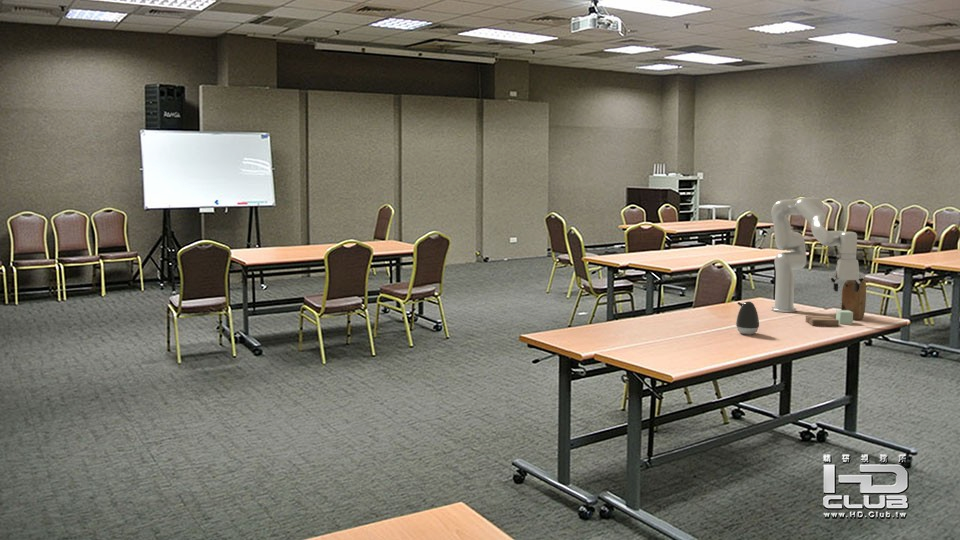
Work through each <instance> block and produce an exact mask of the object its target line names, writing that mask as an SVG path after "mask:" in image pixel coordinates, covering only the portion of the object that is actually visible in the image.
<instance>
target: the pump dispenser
mask: <svg viewBox="0 0 960 540" xmlns="http://www.w3.org/2000/svg"><path fill="white" fill-rule="evenodd" d="M737 305H739V306H740V308H739V310H738V313H737V317H736V322H735V326H736V328H737V331H738V332H739V333H740V334H742V335H747V336H748V335H749V336H750V335H754V334H756V333H757V332H758V330H759V328H760V321H759V320H760V318H759V314H758V311H757V308H756V306H755V304H754V303H753V302H751V301H745V302H743V303H742V302H740V301H737Z"/></svg>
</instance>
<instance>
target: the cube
mask: <svg viewBox="0 0 960 540" xmlns="http://www.w3.org/2000/svg"><path fill="white" fill-rule="evenodd" d="M835 311H836V312H835V313H836V314H835V319H837V320H839V325H853V324H854V323H853V321H854V320H853V312H851V311H849V310H841V309H839V310H838V309H837V310H835Z"/></svg>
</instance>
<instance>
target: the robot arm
mask: <svg viewBox="0 0 960 540" xmlns="http://www.w3.org/2000/svg"><path fill="white" fill-rule="evenodd" d="M823 210H824V202H823V201H822V200H821V198H819V197H801V198H799V199H789V198H788V199H781V200H778V201H776V202H775V203H774V204H773V206H772V208H771V219H772V223H773V231H774V232H773V233H774V239H775V242H774V243H775V246H776V248H777V249H778V250H781V251H789V252H781V253H778V254H777V255H776V256H775V257H774V261H773V262H774V269H775V287H774V288H775V291H774V306H771V311H773V312H779V313H796V312H797V308H796V307H794V304H795V303H794V302H795V301H794V300H795V298H794V297H795V280H796V279H795V274H794V272H793V271H794V270H795V271H796V270H802V269H803V268H805V266H806V265H807V253H806V252H807V250H806V242H805V238H804V236H803V235H802V234H801V233H800V232H797V231H792V226H791V222H790V220H789V218H788V217H787V216H802V217H803V218H804V219H805V221H806V222H807V223H809V224H810V229H811V233H812V236H813V237H814V238H815V239H816V241H817V242H818V243H820V244H821V245H823V246H825V247H834V246H836V247H838V246H839V253H838V254H836V258H838V259H837V262H836V265H835V270H834V271H833V272H831V273H829V274H828V275H827V276H828V278H829V280H830V281H831V282H832V283H833V291H834V292H837V293H838V291H839V282H840V281H847V280H854V281H855V282H856V283H855V289H854V291H856V292H858V290H859V284H860V283H861V282H862V281H864V280H865V278H866V276H867V275H866V274H865V273H863V272H861V271H860V266H859V260H858V259H857V251H858V250H857V248H858V247H857V245H858V234H857V233H856V232H854V231H845V230H827V229H826V228H825V227H824V226H823V223H824V222H825V220H826V218H827V215H826V213H824V211H823ZM833 276H834V277H835V278H834V277H833Z"/></svg>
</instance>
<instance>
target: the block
mask: <svg viewBox="0 0 960 540" xmlns="http://www.w3.org/2000/svg"><path fill="white" fill-rule="evenodd" d="M843 283H844V284H843V286H842V290H841V307H840V310H849V311H851V312H853V321H861V320H863V319H864V317H865V316H864V315H865V312H866V301H867V282H866V281H865V280H863V281H862V282H861V283H860V284H859V290H858V292H856V291H854V289H855V283H856V282H855V281H854V280H845V282H843Z"/></svg>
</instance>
